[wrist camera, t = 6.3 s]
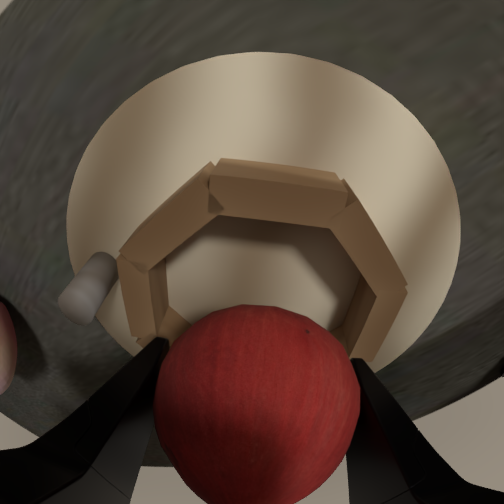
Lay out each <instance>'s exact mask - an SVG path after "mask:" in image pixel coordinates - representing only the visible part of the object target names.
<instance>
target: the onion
mask: <svg viewBox="0 0 504 504" xmlns="http://www.w3.org/2000/svg"><path fill="white" fill-rule="evenodd" d="M359 413H360V386H359V383H358V380H357V377H356V374H355V371H354V369H353V366H352V364H351V361H350V359H349V357H348V355H347V353H346V351H345V349H344V347H343V345H342V344H341V343H340V342H339V341H338V340H337V339H336V338H335V337H334V336H333V335H332V334H331V333H330V332H329V331H328V330H326V329H325V328H323V327H322V326H320V325H319V324H317V323H316V322H314V321H313V320H312V319H310V318H309V317H307V316H304V315H301V314H298V313H295V312H292V311H289V310H286V309H283V308H280V307H277V306H264V305H248V304H240V305H237V306H233V307H229V308H225V309H221V310H217V311H214V312H211V313H210V314H208V315H207V316H205V317H203V318H202V319H200V320H199V321H197V322H196V323H194V324H193V325H192V326H191V327H190V328H189V329H187V330H186V331H185V332H184V333H183V334H182V335H181V336H179V337H178V338H177V339H176V340H175V341H174V342H173V344H172V346H171V348H170V350H169V351H168V353H167V355H166V357H165V359H164V361H163V362H162V365H161V368H160V372H159V375H158V379H157V382H156V387H155V393H154V400H153V415H154V423H155V429H156V432H157V435H158V438H159V441H160V444H161V447H162V448H163V450H164V452H165V453H166V455H167V457H168V458H169V460H170V461H171V463H172V465H173V466H174V468H175V469H176V470H177V472H178V474H179V475H180V476H181V478H182V479H183V481H184V482H185V484H186V485H187V486H188V487H189V488H190V489H191V490H192V491H193V492H194V493H195V494H196V495H197V496H198V497H200V498H201V499H202V500H203V501H205V502H206V503H207V504H294V503H296V502H298V501H300V500H301V499H303V498H305V497H306V496H308V495H309V494H311V493H312V492H313V491H315V490H316V489H317V488H319V487H320V486H321V485H322V484H323V483H324V482H325V481H326V480H327V479H328V478H329V477H330V476H331V474H332V473H333V472H334V471H335V470H336V468H337V467H338V466H339V464H340V463H341V462H342V460H343V458H344V456H345V454H346V452H347V450H348V448H349V446H350V443H351V440H352V437H353V434H354V430H355V427H356V424H357V420H358V417H359Z"/></svg>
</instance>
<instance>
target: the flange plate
mask: <svg viewBox="0 0 504 504" xmlns="http://www.w3.org/2000/svg"><path fill="white" fill-rule="evenodd" d="M67 242H68V249H69V254H70V260H71V264H72V267H73V271H74V274H75V277H74V278H73V279H72V281H71V282H70V283H69V284H68V286H67V287H66V288H65V290H64V291H63V292H62V293H61V295H60V296H59V298H58V305H59V308H60V310H61V312H62V313H63V314H64V315H65V317H67V318H68V319H69V320H70V321H72V322H73V323H75V324H78V325H82V326H85V325H88V324H90V323H91V321H92V319H93V318H94V316H96V318H97V319H98V320H99V322H100V323H101V324H102V326H103V327H104V328H105V329H106V331H107V332H108V333H109V334H110V335H111V336H112V337H113V338H114V339H115V340H116V341H117V342H118V343H119V344H120V345H121V346H122V347H123V348H124V349H125V350H126V351H128V352H129V353H130V354H131V355H132V356H135V355H136V354H138V353H139V352H140V351H141V350H142V349H143V348H144V347H145V346H146V345H147V344H148V343H150V342H151V341H152V340H153V339H154V338H155V337H164V338H167V339H168V340H169V345H170V348H171V346H172V344H173V342H174V341H175V340H176V339H177V338H178V337H179V336H181V335H182V334H183V333H184V332H185V331H186V330H187V329H189V328H190V327H191V326H192V325H193V324H194V323H196V322H197V321H199V320H200V319H202V318H203V317H205V316H207V315H208V314H210V313H211V312H214V311H217V310H221V309H225V308H229V307H233V306H237V305H240V304H248V305H264V306H277V307H280V308H283V309H286V310H289V311H292V312H295V313H298V314H301V315H304V316H307V317H309V318H310V319H312V320H313V321H314V322H316V323H317V324H319V325H320V326H322V327H323V328H325V329H326V330H328V331H329V332H330V333H331V334H332V335H333V336H334V337H335V338H336V339H337V340H338V341H339V342H340V343H341V344H342V345H343V347H344V349H345V351H346V353H347V355H348V357H349V359H351V358H362V359H364V361H365V362H366V363H367V364H368V366H369V367H370V368H371V369H372V371H373V372H374V373H375V372H377V371H379V370H380V369H382V368H383V367H385V366H386V365H388V364H389V363H391V362H392V361H393V360H394V359H396V358H397V357H398V356H399V355H401V354H402V353H403V352H404V351H405V350H407V349H408V348H409V347H410V346H411V345H412V344H413V343H414V342H415V341H416V340H417V339H418V338H419V336H420V335H421V334H422V333H423V331H424V330H425V329H426V328H427V326H428V325H429V324H430V323H431V321H432V320H433V318H434V317H435V315H436V313H437V312H438V310H439V308H440V307H441V305H442V303H443V301H444V299H445V297H446V295H447V292H448V290H449V288H450V285H451V283H452V279H453V276H454V273H455V269H456V266H457V261H458V255H459V248H460V212H459V206H458V200H457V194H456V190H455V187H454V184H453V181H452V178H451V175H450V172H449V169H448V167H447V165H446V163H445V161H444V159H443V157H442V155H441V153H440V151H439V149H438V148H437V146H436V144H435V142H434V141H433V139H432V138H431V137H430V135H429V134H428V133H427V131H426V130H425V129H424V127H423V126H422V125H421V124H420V122H419V121H418V120H417V119H416V117H415V116H414V115H412V114H411V113H410V112H409V111H408V110H407V109H406V108H405V107H404V106H403V105H402V104H401V103H400V102H398V101H397V100H396V99H395V98H394V97H393V96H392V95H390V94H389V93H387V92H386V91H384V90H383V89H381V88H380V87H378V86H377V85H375V84H374V83H372V82H370V81H369V80H367V79H366V78H364V77H362V76H360V75H358V74H355V73H353V72H351V71H349V70H346V69H344V68H342V67H339V66H337V65H334V64H332V63H329V62H325V61H321V60H317V59H313V58H309V57H304V56H300V55H295V54H286V53H271V52H248V53H239V54H230V55H222V56H217V57H213V58H209V59H206V60H202V61H199V62H195V63H192V64H189V65H186V66H183V67H181V68H178V69H176V70H174V71H172V72H170V73H168V74H166V75H164V76H162V77H160V78H158V79H156V80H154V81H152V82H151V83H149V84H148V85H146V86H145V87H144V88H142V89H141V90H139V91H138V92H137V93H135V94H134V95H133V96H131V97H130V98H129V99H127V100H126V101H125V102H124V103H123V104H122V105H121V106H120V107H119V108H118V109H117V110H116V111H115V112H114V113H113V114H112V115H111V116H110V117H109V118H108V119H107V120H106V121H105V122H104V124H103V125H102V126H101V128H100V129H99V131H98V132H97V133H96V135H95V136H94V138H93V139H92V141H91V142H90V144H89V145H88V147H87V149H86V151H85V153H84V155H83V157H82V159H81V161H80V163H79V166H78V168H77V170H76V173H75V177H74V180H73V184H72V187H71V191H70V195H69V202H68V210H67Z"/></svg>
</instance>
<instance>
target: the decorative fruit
mask: <svg viewBox="0 0 504 504" xmlns="http://www.w3.org/2000/svg"><path fill="white" fill-rule="evenodd" d="M16 361H17V339H16V333H15V329H14V326H13V322H12V320H11V317H10V315H9V312H8V310H7V308H6V306H5V305H4V304H3V303H2V302H1V301H0V395H1V394H2V393H3V392H5V391H6V389H7V388H8V387H9V385H10V383H11V381H12V379H13V376H14V372H15V368H16Z"/></svg>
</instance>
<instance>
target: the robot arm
mask: <svg viewBox="0 0 504 504" xmlns="http://www.w3.org/2000/svg"><path fill="white" fill-rule="evenodd" d="M169 350H170V345H169V340H168V339H167V338H164V337H155V338H154V339H153V340H152V341H151V342H150V343H148V344H147V345H146V346H145V347H144V348H143V349H142V350H141V351H140V352H139V353H138V354H136V355H135V356H134V357H133V358H132V359H131V360H130V361H129V362H128V363H127V364H126V365H125V366H123V367H122V368H121V369H120V370H119V371H118V372H117V373H116V374H115V375H114V376H113V377H112V378H110V379H109V380H108V381H107V382H106V383H105V384H104V385H103V386H102V387H101V388H100V389H99V390H97V391H96V392H95V393H94V394H93V395H92V396H91V397H90V398H89V399H88V400H86V401H85V402H84V403H83V404H82V405H81V406H80V407H79V408H78V409H77V410H75V411H74V412H73V413H72V414H71V415H70V416H68V417H67V418H66V419H64V420H63V421H62V422H60V423H59V424H58V425H56V426H55V427H54V428H52V429H51V430H49V431H48V432H46V433H45V434H44V435H42V436H41V437H39V438H38V439H37V440H35V441H34V442H32V443H30V444H28V445H26V446H23V447H20V448H15V449H7V450H0V504H130V501H131V500H130V499H131V497H132V493H133V490H134V486H135V483H136V480H137V477H138V473H139V470H140V467H141V464H142V460H143V457H144V454H145V451H146V448H147V445H148V441H149V438H150V435H151V432H152V429H153V426H154V415H153V400H154V393H155V387H156V382H157V379H158V375H159V372H160V368H161V365H162V362H163V361H164V359H165V357H166V355H167V353H168V351H169ZM350 361H351V364H352V366H353V369H354V371H355V374H356V377H357V380H358V383H359V386H360V413H359V417H358V420H357V424H356V427H355V430H354V434H353V437H352V440H351V443H350V446H349V448H348V450H347V452H346V460H347V472H348V486H349V502H350V504H504V492H500V491H496V490H492V489H488V488H484V487H481V486H477V485H473V484H471V483H468V482H467V481H465V480H464V479H463V478H461V477H460V476H459V475H458V474H457V473H456V472H455V471H454V470H453V469H452V468H451V467H450V466H449V464H448V463H447V462H446V461H445V460H444V459H443V458H442V457H441V456H440V455H439V454H438V453H437V452H436V451H435V450H434V448H433V447H432V446H431V445H430V444H429V442H428V441H427V440H426V439H425V438H424V436H423V435H422V433H421V432H420V431H418V428H417V427H416V426H415V424H414V423H413V422H412V421H411V419H410V418H409V417H408V415H407V414H406V413H405V412H404V410H403V409H402V408H401V406H400V405H399V404H398V403H397V401H396V400H395V399H394V397H393V396H392V395H391V394H390V392H389V391H388V390H387V388H386V387H385V386H384V385H383V383H382V382H381V381H380V380H379V378H378V377H377V376H376V374H375V373H374V372H373V371H372V369H371V368H370V367H369V366H368V364H367V363H366V362H365V361H364V359H362V358H351V359H350ZM500 374H501V376H502V377H504V368H503V369H502V370H501V372H500Z"/></svg>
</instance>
